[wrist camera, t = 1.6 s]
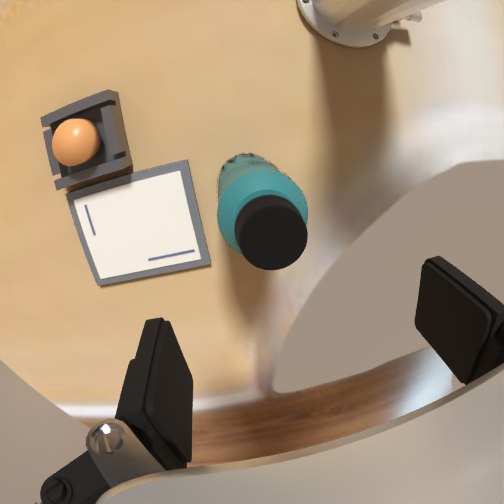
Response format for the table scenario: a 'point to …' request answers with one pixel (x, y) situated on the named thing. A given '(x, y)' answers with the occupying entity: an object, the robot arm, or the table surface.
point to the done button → (76, 141)
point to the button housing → (111, 131)
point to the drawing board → (140, 224)
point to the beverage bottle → (261, 212)
